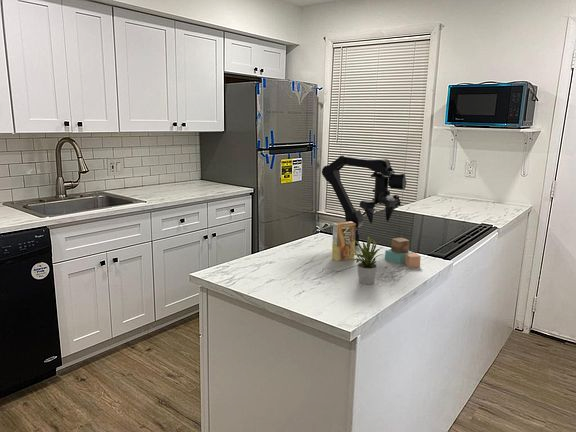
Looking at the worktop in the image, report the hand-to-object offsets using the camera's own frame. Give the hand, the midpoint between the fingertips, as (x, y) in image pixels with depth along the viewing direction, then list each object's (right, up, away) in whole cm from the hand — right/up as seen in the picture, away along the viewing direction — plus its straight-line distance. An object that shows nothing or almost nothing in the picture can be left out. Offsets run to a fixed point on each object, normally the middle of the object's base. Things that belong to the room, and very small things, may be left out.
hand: (379, 222), depth 198 cm
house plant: (-13, -21, -38) cm, 45 cm away
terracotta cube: (+9, -17, -21) cm, 29 cm away
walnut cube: (+5, -12, -15) cm, 20 cm away
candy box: (-18, -15, -13) cm, 27 cm away
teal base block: (+5, -16, -14) cm, 22 cm away
